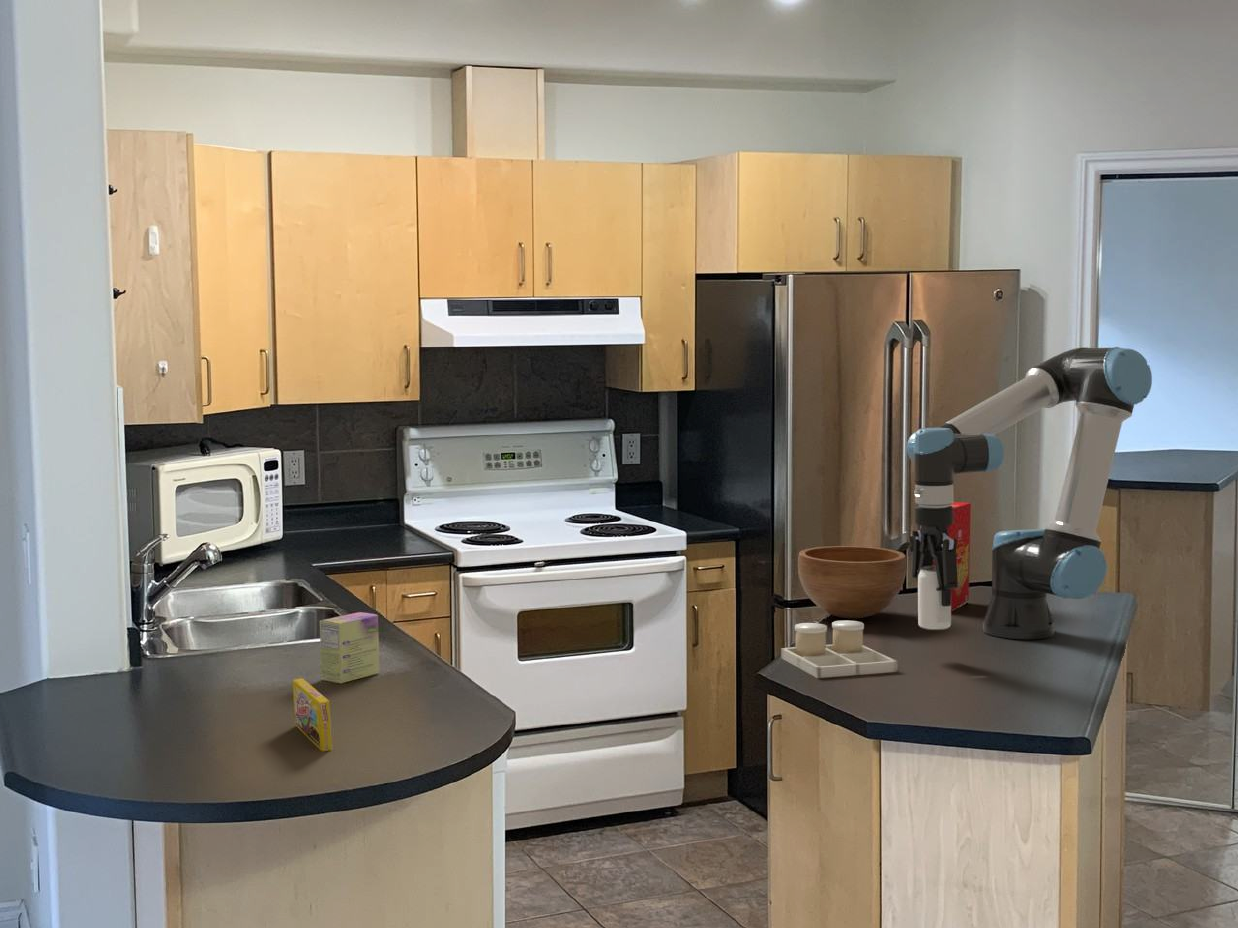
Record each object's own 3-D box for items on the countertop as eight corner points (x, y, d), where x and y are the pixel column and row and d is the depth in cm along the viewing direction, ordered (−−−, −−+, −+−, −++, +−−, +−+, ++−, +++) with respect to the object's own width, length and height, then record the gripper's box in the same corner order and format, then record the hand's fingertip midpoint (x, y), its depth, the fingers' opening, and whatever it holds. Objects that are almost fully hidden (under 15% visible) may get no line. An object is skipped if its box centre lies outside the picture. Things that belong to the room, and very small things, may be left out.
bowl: (915, 628, 306) (916, 562, 304) (804, 628, 306) (804, 562, 305) (894, 607, 330) (895, 545, 329) (791, 606, 331) (792, 545, 329)
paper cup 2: (854, 653, 280) (855, 619, 279) (868, 660, 274) (869, 625, 273) (826, 656, 278) (826, 621, 277) (840, 663, 272) (840, 627, 271)
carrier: (857, 653, 281) (857, 642, 281) (897, 673, 265) (897, 661, 265) (780, 659, 277) (781, 648, 276) (817, 679, 260) (817, 667, 260)
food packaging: (947, 613, 322) (950, 509, 320) (926, 611, 325) (928, 507, 323) (968, 603, 335) (970, 503, 332) (947, 601, 338) (949, 501, 335)
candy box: (293, 726, 230) (292, 679, 229) (305, 725, 231) (304, 677, 230) (319, 752, 216) (318, 701, 215) (333, 750, 217) (331, 699, 216)
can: (951, 630, 271) (951, 571, 270) (918, 630, 272) (918, 571, 271) (950, 623, 277) (950, 565, 276) (918, 622, 279) (917, 565, 277)
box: (359, 669, 269) (358, 610, 268) (380, 673, 266) (379, 614, 265) (319, 680, 261) (318, 619, 260) (340, 684, 257) (339, 623, 256)
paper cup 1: (818, 656, 277) (818, 621, 277) (831, 663, 271) (832, 628, 271) (789, 658, 276) (789, 623, 275) (802, 666, 270) (802, 630, 269)
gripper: (893, 500, 280) (894, 610, 283) (942, 512, 262) (942, 629, 264) (926, 498, 282) (926, 607, 285) (976, 509, 264) (976, 626, 266)
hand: (934, 617), depth 275 cm, fingers closed on can, 6 cm apart
